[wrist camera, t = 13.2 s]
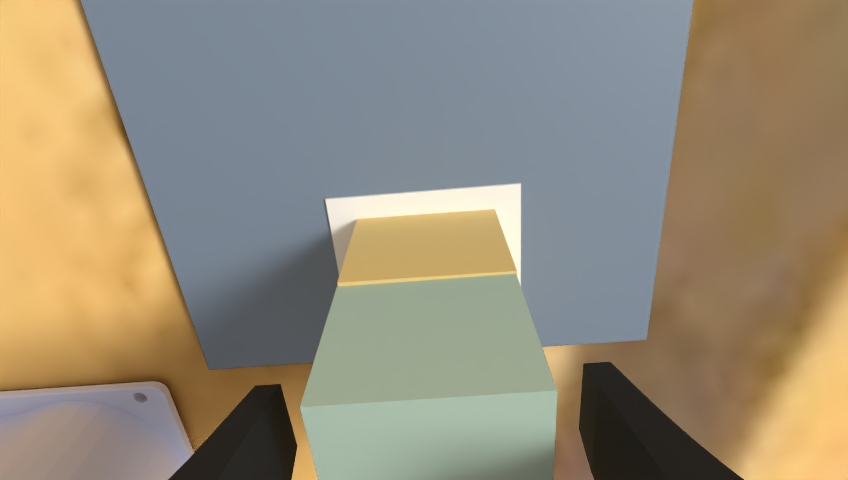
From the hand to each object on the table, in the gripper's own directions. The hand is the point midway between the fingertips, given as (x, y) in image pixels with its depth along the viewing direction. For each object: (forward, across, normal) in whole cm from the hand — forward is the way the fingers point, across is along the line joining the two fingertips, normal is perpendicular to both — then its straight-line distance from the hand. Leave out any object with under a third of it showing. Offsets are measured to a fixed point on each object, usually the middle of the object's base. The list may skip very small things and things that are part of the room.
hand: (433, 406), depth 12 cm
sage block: (+2, 0, 0) cm, 2 cm away
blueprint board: (+7, 0, -5) cm, 8 cm away
